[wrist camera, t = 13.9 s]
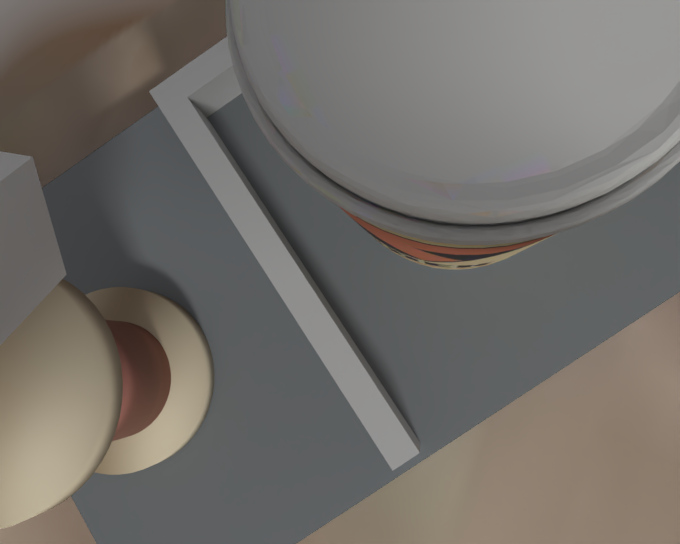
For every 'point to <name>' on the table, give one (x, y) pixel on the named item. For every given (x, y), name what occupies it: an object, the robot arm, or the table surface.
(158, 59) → the table surface
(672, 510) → the table surface
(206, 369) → the wooden bobbin
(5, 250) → the robot arm
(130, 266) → the gray board
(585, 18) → the coffee cup
